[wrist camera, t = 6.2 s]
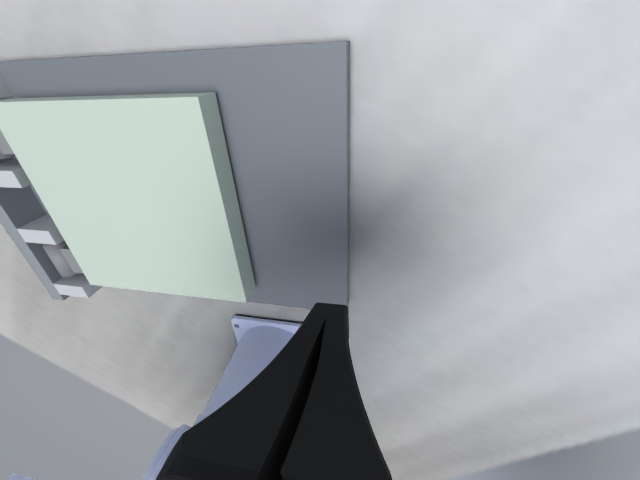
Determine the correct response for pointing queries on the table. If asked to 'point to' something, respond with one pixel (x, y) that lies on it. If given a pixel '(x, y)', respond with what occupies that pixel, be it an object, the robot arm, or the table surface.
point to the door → (135, 190)
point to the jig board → (243, 150)
